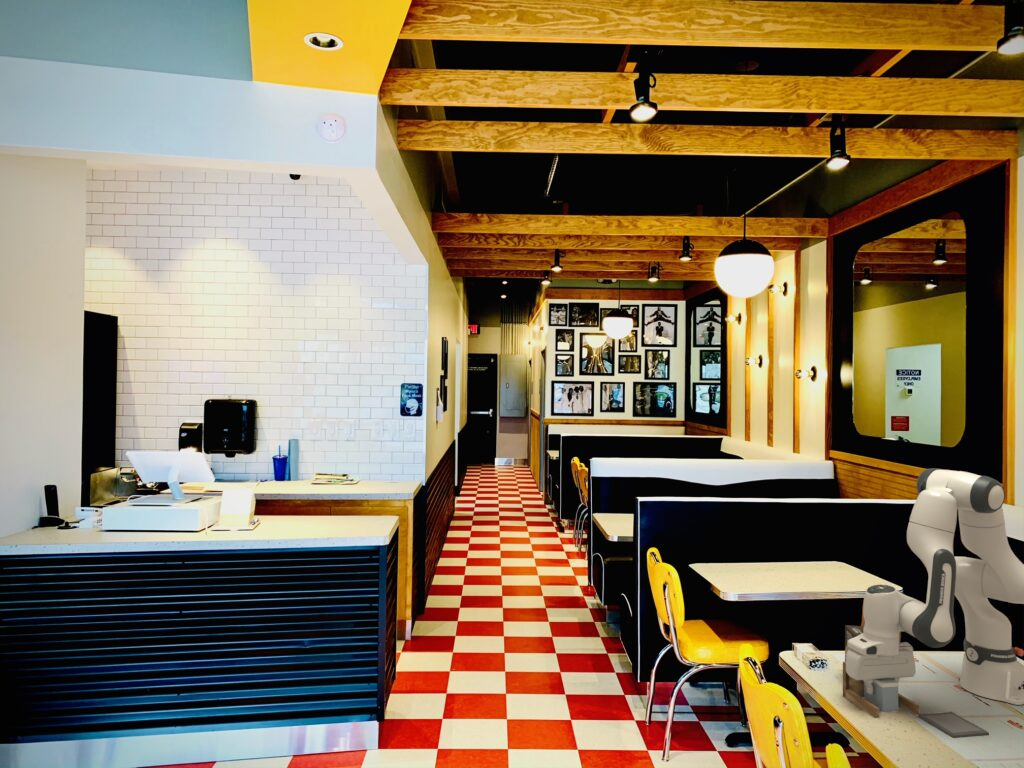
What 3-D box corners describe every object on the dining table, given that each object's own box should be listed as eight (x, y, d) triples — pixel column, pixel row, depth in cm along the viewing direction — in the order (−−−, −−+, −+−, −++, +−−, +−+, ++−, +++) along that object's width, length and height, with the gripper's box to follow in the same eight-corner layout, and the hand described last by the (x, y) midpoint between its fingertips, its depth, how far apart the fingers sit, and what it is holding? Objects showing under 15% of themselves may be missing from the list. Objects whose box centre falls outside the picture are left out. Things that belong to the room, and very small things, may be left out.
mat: (951, 713, 172) (951, 711, 172) (989, 734, 161) (989, 732, 161) (917, 716, 170) (917, 714, 170) (953, 737, 159) (953, 735, 159)
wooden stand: (884, 693, 183) (884, 659, 184) (919, 714, 171) (919, 677, 171) (842, 696, 181) (842, 661, 181) (875, 717, 168) (875, 680, 169)
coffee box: (843, 675, 195) (844, 624, 196) (865, 677, 194) (866, 626, 195) (853, 688, 186) (854, 634, 187) (876, 690, 185) (877, 636, 186)
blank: (879, 699, 180) (879, 671, 180) (898, 711, 173) (898, 682, 173) (863, 700, 179) (863, 672, 179) (882, 712, 172) (882, 683, 172)
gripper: (903, 637, 181) (903, 685, 181) (842, 641, 177) (841, 689, 177) (921, 646, 175) (921, 695, 174) (858, 649, 171) (858, 700, 171)
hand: (880, 692), depth 176 cm, fingers closed on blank, 5 cm apart
